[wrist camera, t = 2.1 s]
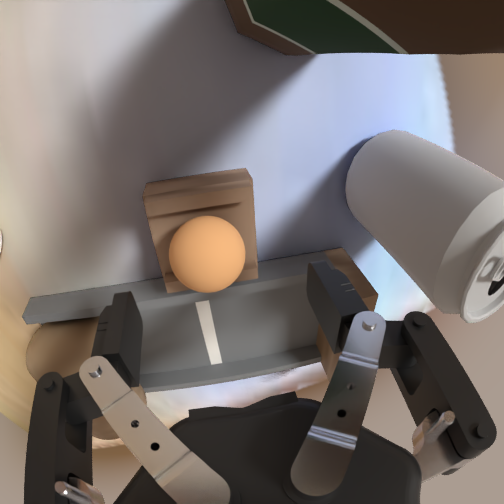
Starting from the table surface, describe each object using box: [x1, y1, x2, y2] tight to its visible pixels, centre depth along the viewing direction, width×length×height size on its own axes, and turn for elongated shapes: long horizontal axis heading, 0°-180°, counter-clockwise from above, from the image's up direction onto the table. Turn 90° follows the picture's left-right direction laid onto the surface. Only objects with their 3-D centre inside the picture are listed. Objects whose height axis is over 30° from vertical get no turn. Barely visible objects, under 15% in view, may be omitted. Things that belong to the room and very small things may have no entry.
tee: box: [142, 168, 258, 293], centre depth 18 cm, size 6×6×3 cm
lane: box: [22, 251, 335, 393], centre depth 23 cm, size 23×11×2 cm, turn 94°
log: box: [26, 316, 147, 440], centre depth 20 cm, size 7×8×7 cm
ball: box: [169, 216, 245, 293], centre depth 16 cm, size 4×4×4 cm
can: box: [345, 130, 504, 323], centre depth 15 cm, size 8×8×12 cm
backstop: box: [316, 248, 378, 382], centre depth 24 cm, size 2×11×6 cm, turn 4°
